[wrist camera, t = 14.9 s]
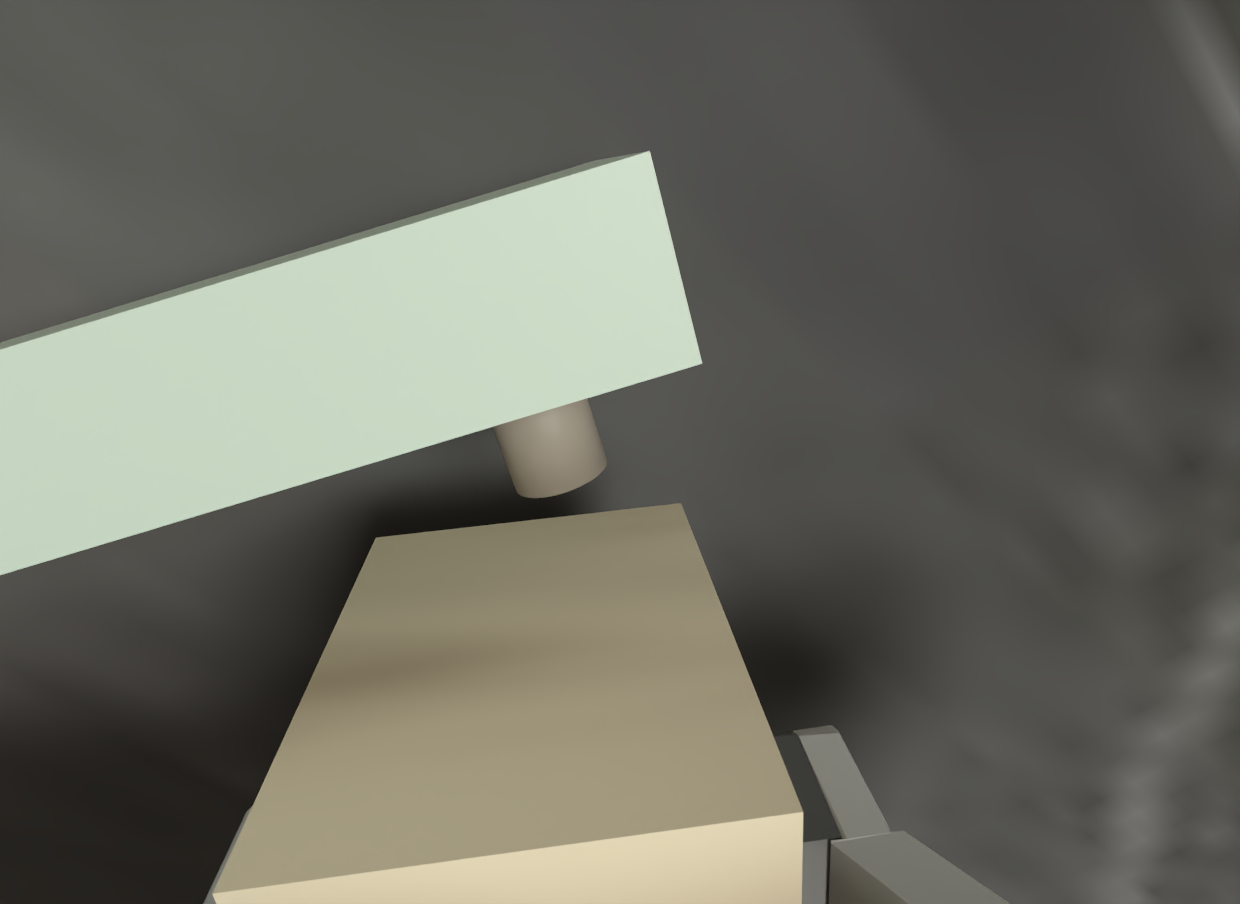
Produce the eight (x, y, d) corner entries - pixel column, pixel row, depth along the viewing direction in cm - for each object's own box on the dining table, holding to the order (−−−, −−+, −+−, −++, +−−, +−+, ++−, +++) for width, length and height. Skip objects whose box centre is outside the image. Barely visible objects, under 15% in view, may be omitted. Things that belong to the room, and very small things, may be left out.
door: (-95, 557, 12) (-704, 925, 6) (-209, 406, 11) (-1065, 674, 5) (641, 334, 12) (734, 495, 6) (593, 161, 11) (649, 150, 5)
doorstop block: (699, 834, 12) (794, 1259, 7) (451, 868, 12) (389, 1331, 7) (680, 503, 10) (803, 811, 5) (376, 537, 9) (211, 893, 5)
